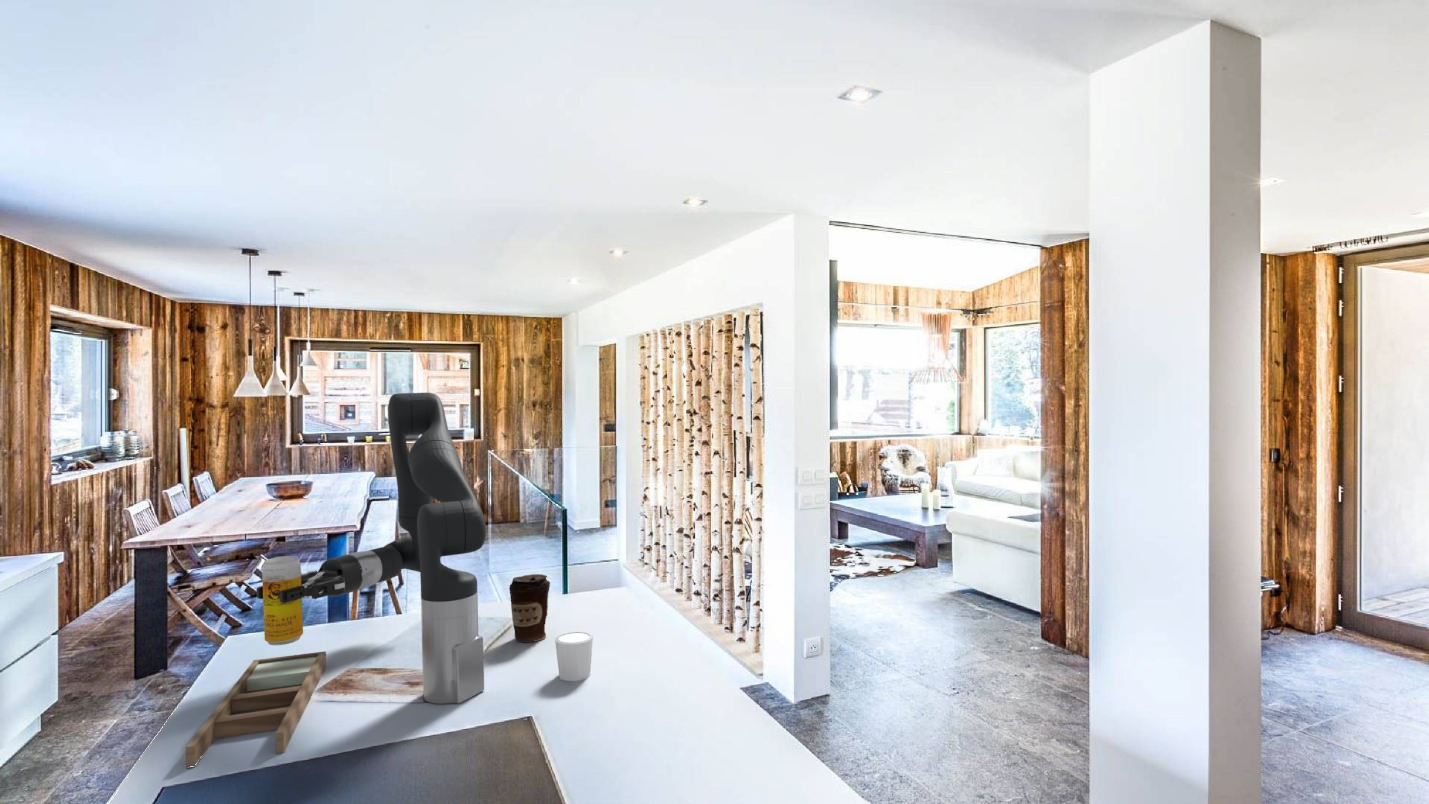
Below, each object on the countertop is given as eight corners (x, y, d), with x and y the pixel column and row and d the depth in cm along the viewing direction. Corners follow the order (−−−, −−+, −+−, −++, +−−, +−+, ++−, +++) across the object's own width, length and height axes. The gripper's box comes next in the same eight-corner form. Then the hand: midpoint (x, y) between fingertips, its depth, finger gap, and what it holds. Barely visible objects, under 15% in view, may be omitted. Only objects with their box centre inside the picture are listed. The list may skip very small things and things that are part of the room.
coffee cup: (545, 645, 149) (543, 582, 149) (505, 645, 149) (503, 583, 149) (555, 631, 158) (553, 572, 157) (517, 632, 158) (515, 572, 158)
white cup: (589, 682, 129) (589, 643, 129) (551, 682, 129) (550, 643, 129) (596, 667, 136) (596, 630, 136) (560, 668, 136) (559, 631, 136)
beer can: (259, 648, 129) (256, 564, 129) (272, 636, 135) (269, 556, 135) (296, 644, 130) (293, 562, 130) (307, 633, 136) (304, 554, 136)
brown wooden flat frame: (254, 676, 135) (253, 660, 135) (326, 666, 139) (325, 651, 139) (186, 768, 101) (185, 747, 101) (283, 752, 105) (283, 732, 105)
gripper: (326, 551, 148) (243, 571, 133) (375, 557, 142) (294, 578, 127) (328, 587, 149) (245, 611, 133) (377, 595, 142) (295, 621, 127)
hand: (269, 595), depth 130 cm, fingers closed on beer can, 6 cm apart
